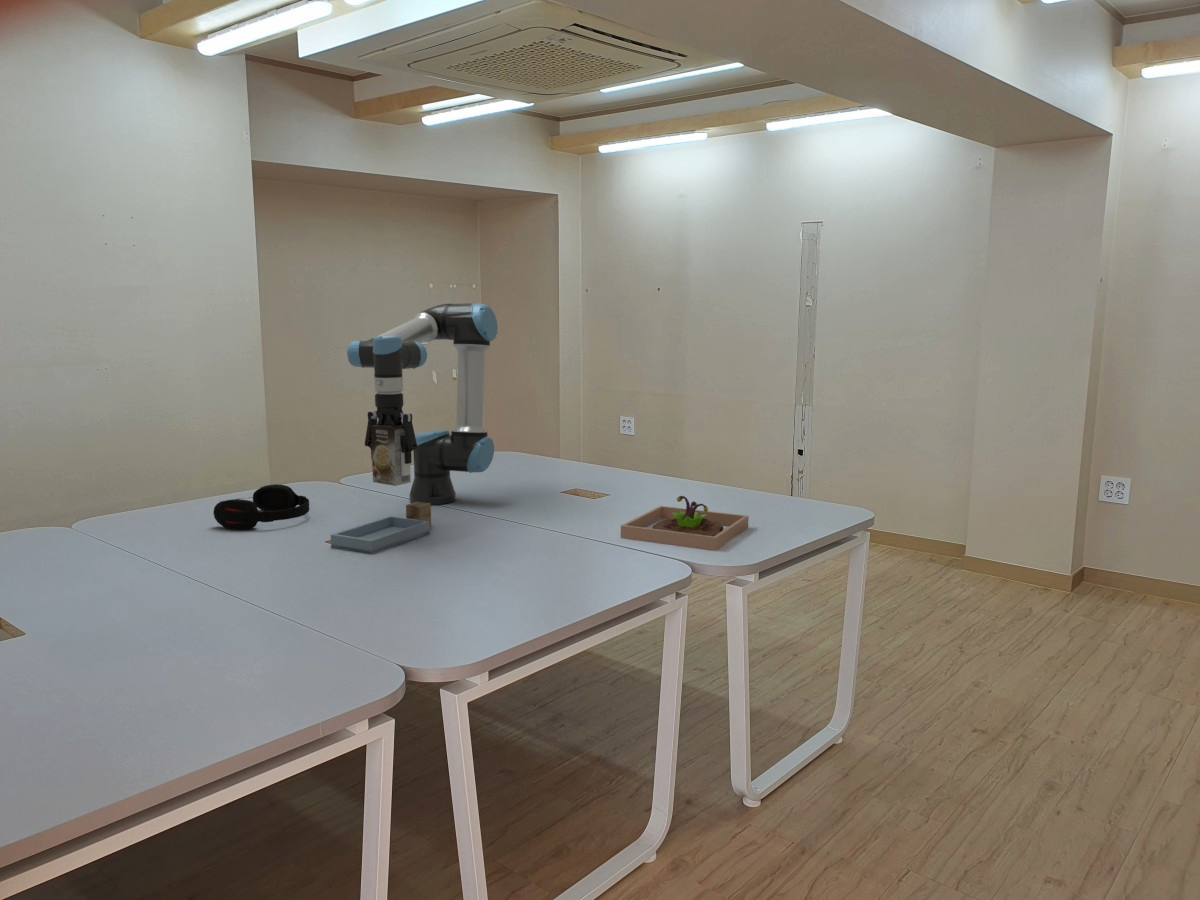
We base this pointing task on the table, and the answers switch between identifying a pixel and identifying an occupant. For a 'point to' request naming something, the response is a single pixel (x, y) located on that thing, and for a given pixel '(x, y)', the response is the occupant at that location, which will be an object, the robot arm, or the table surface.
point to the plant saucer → (638, 532)
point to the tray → (380, 534)
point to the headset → (270, 499)
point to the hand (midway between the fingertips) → (391, 473)
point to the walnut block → (419, 511)
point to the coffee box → (387, 455)
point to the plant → (690, 521)
